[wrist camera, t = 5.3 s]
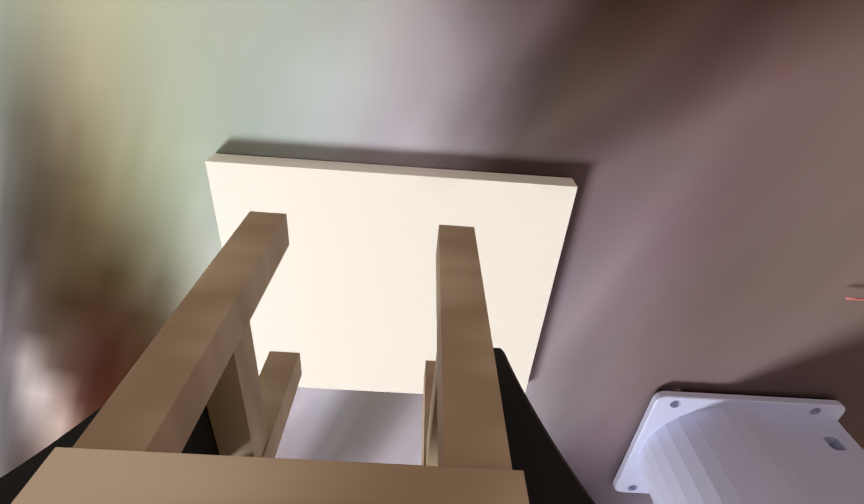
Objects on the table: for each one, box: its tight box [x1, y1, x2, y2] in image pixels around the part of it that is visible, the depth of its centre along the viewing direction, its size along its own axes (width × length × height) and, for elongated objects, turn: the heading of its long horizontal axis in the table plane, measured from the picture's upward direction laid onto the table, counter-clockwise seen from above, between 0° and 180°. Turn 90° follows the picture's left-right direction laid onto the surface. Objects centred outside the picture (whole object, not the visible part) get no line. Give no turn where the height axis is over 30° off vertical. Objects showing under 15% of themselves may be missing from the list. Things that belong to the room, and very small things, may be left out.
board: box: [205, 153, 578, 394], centre depth 19 cm, size 13×11×1 cm
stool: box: [11, 211, 529, 504], centre depth 9 cm, size 5×5×7 cm
